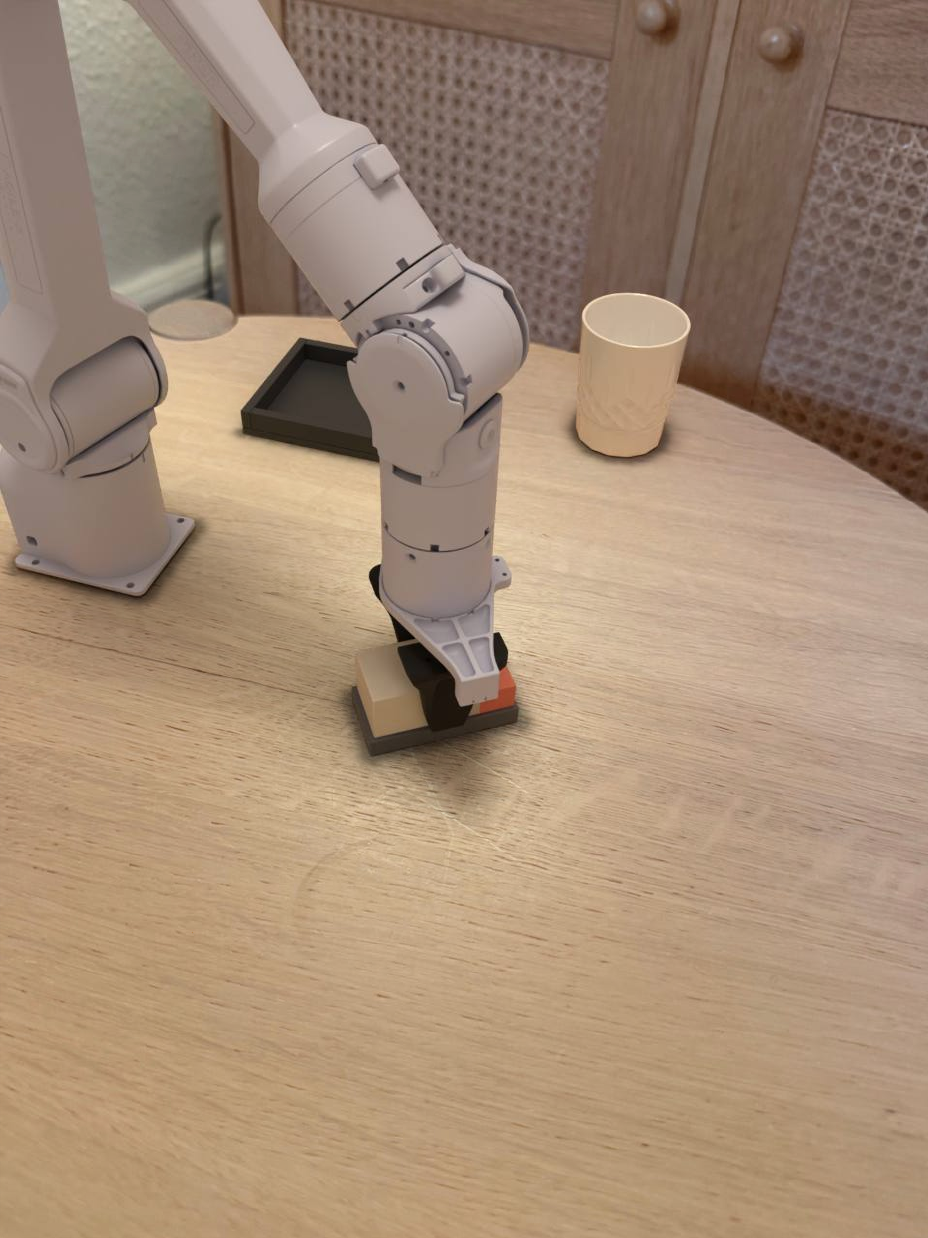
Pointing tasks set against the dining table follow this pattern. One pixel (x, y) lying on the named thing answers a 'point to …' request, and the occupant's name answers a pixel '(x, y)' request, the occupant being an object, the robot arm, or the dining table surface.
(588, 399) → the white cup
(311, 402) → the black rectangular tray
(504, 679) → the blocks on dark base
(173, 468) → the dining table surface
